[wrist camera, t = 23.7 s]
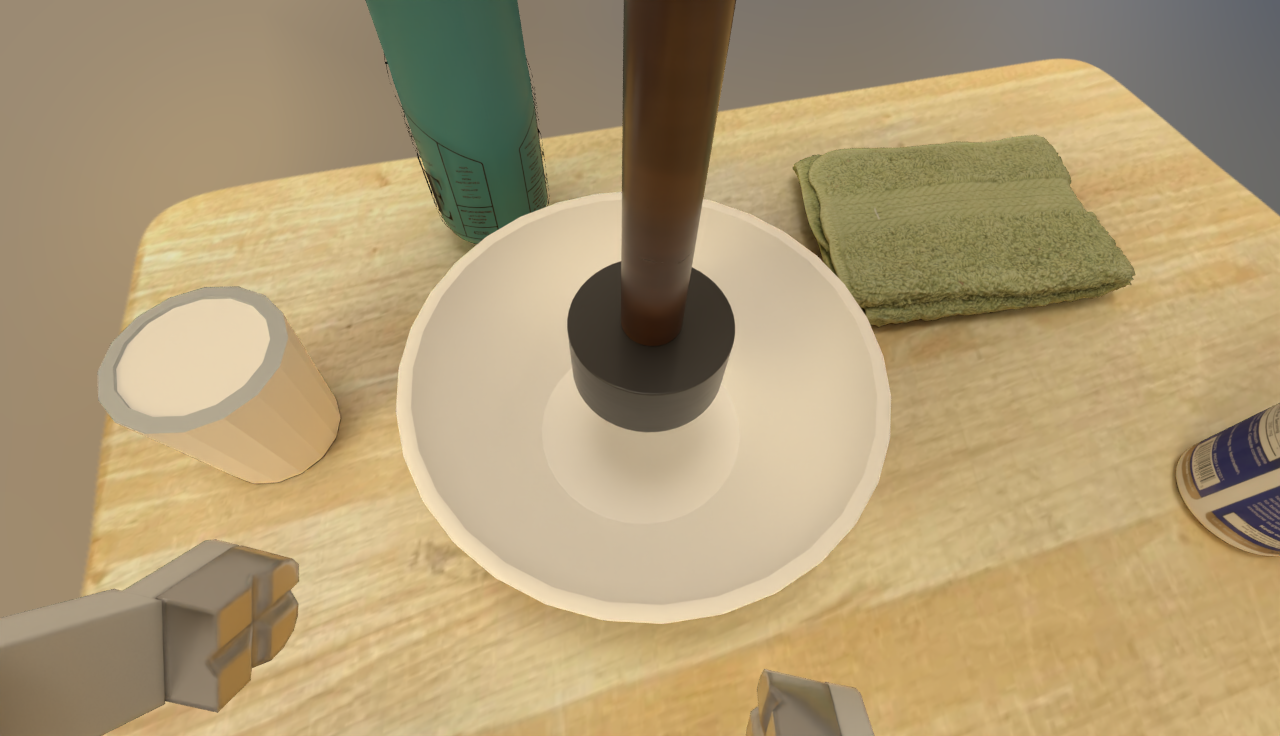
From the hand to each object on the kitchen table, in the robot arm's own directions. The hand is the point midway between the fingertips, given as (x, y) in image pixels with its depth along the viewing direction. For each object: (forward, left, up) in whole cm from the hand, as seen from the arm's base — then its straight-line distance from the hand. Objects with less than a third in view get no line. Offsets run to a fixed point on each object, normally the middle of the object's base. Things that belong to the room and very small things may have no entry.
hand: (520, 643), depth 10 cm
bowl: (-6, +10, -16) cm, 20 cm away
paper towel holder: (-6, +9, -9) cm, 15 cm away
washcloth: (-3, +33, -16) cm, 37 cm away
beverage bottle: (-22, +13, -16) cm, 30 cm away
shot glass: (-18, -3, -16) cm, 25 cm away
